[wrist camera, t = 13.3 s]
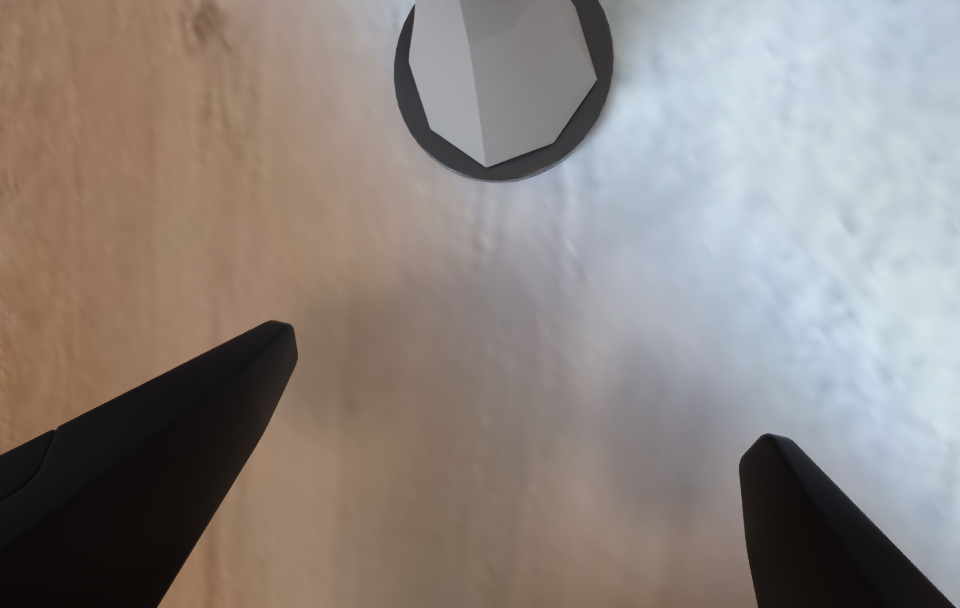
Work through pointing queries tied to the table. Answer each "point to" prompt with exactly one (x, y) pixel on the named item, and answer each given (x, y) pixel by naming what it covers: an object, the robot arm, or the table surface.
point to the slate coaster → (529, 162)
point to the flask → (499, 72)
